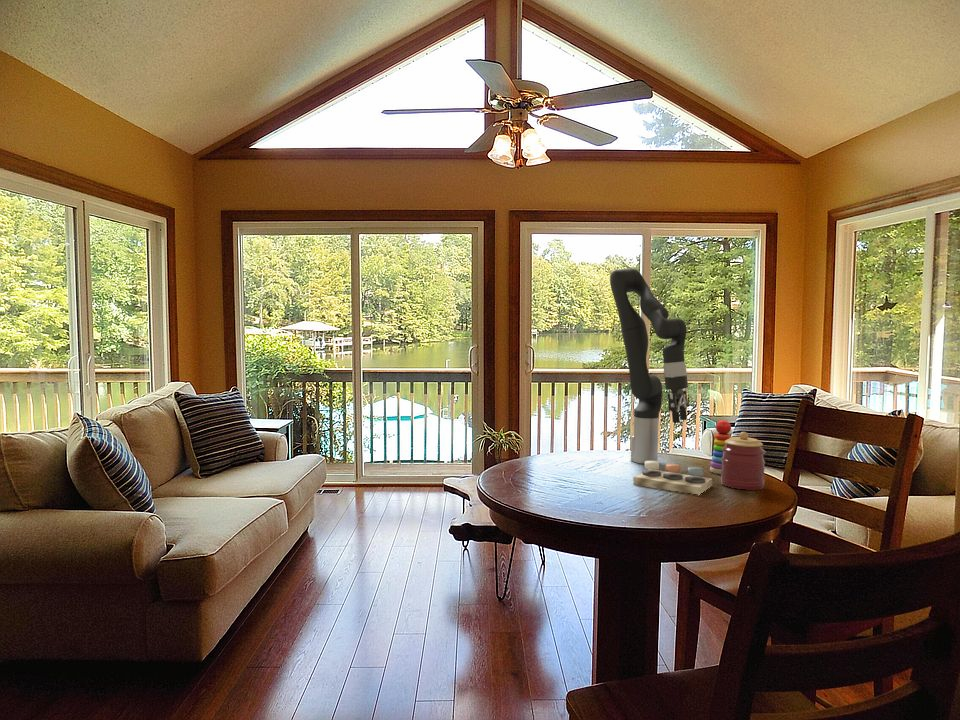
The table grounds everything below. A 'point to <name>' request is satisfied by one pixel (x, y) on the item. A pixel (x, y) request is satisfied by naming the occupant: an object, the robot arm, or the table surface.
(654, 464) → the ivory button
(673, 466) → the terracotta button
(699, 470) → the slate button
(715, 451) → the stacking toy
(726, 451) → the canister
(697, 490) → the button panel
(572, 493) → the table surface
